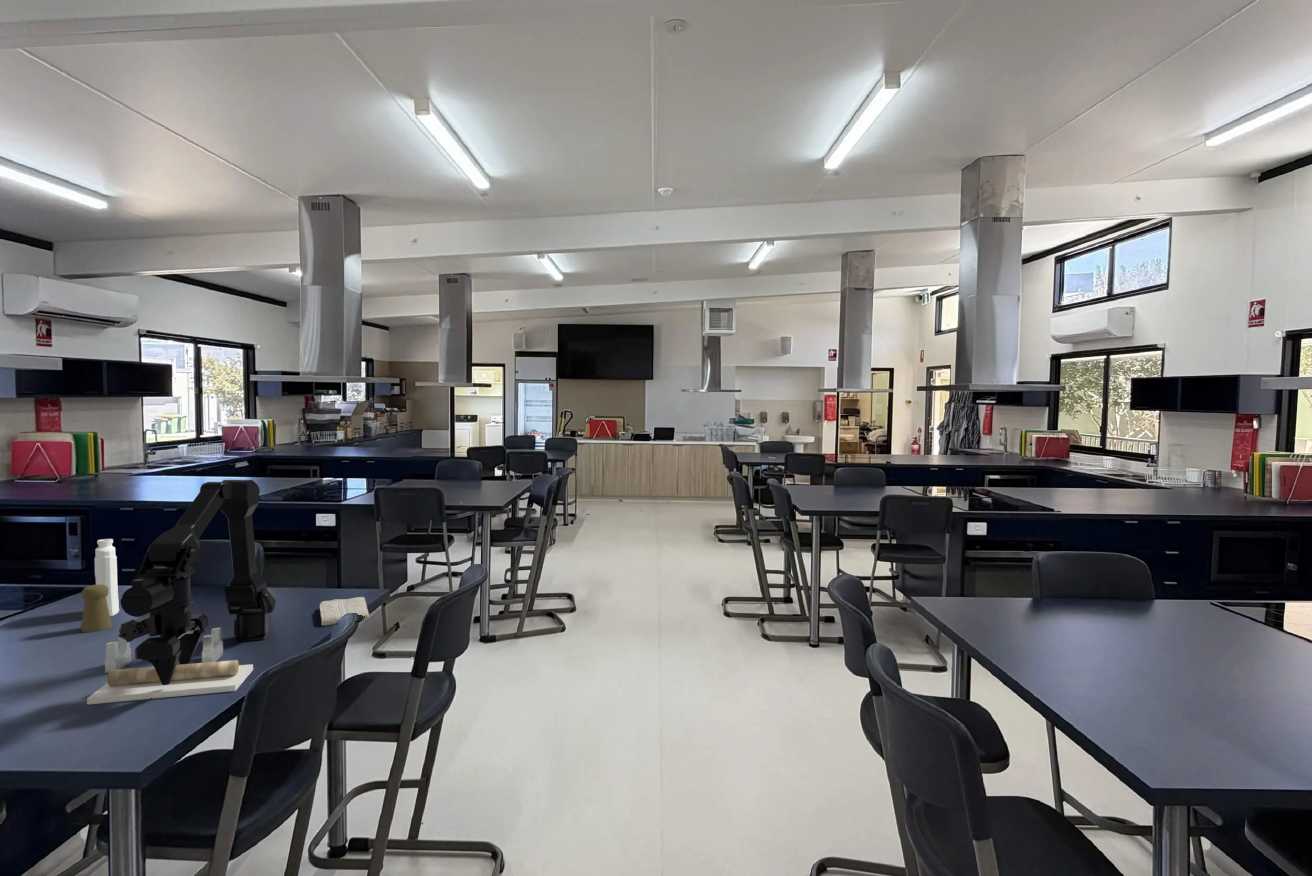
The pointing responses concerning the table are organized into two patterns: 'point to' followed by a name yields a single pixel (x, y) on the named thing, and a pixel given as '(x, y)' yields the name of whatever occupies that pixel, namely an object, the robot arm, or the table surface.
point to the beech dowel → (179, 673)
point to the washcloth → (342, 609)
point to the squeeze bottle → (107, 572)
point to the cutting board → (170, 688)
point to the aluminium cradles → (121, 652)
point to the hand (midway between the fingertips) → (175, 676)
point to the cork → (95, 609)
